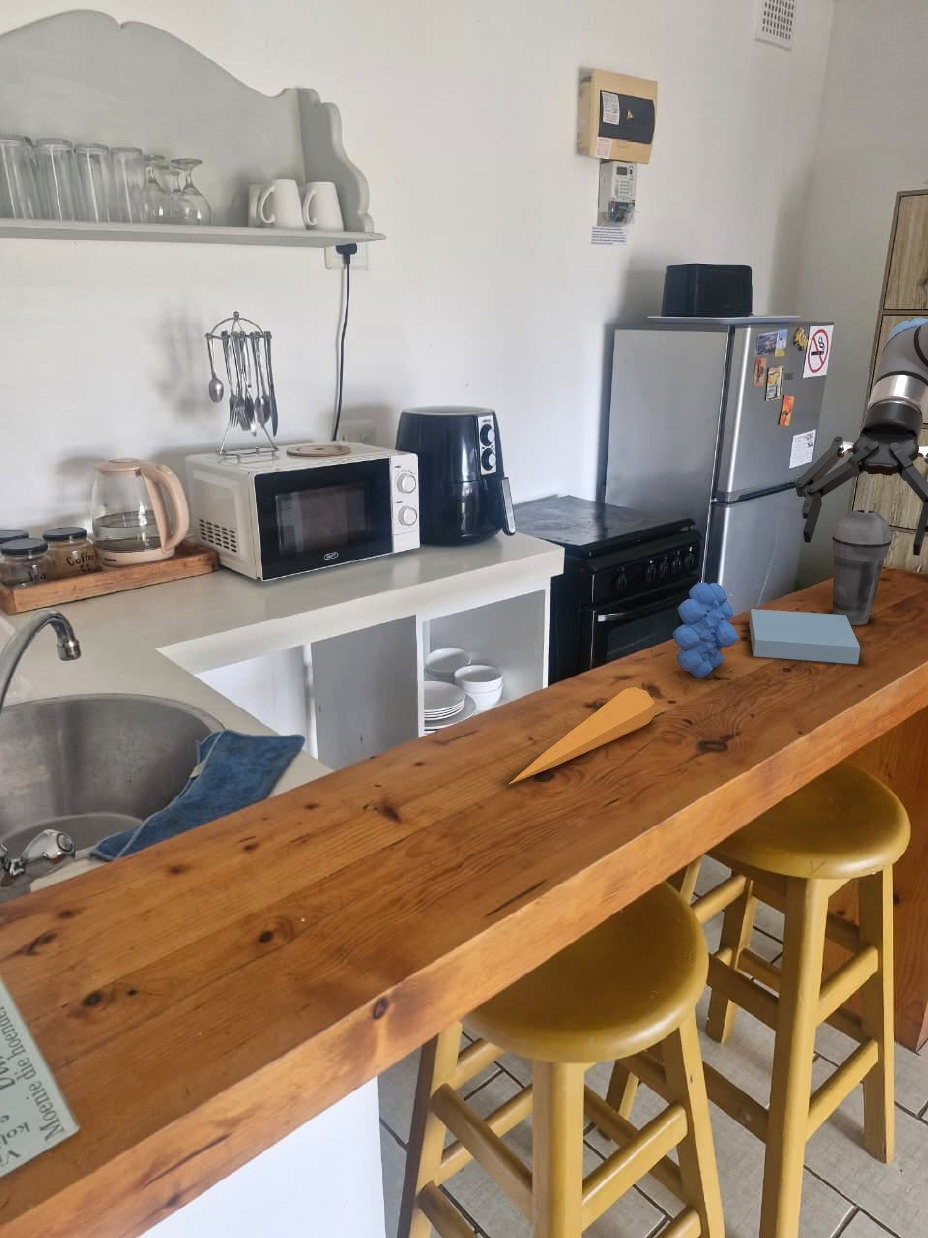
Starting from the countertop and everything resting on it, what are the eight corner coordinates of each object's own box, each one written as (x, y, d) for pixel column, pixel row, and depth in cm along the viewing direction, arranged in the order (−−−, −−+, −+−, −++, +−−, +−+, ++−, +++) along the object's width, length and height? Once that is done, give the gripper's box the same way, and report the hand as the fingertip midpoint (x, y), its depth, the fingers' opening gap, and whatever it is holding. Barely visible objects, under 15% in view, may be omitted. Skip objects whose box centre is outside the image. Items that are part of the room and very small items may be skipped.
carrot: (635, 722, 93) (622, 683, 92) (667, 721, 89) (654, 680, 89) (501, 806, 81) (484, 761, 81) (531, 808, 77) (515, 762, 77)
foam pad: (843, 632, 115) (845, 615, 115) (857, 666, 104) (860, 647, 104) (749, 626, 118) (750, 608, 118) (753, 658, 107) (755, 639, 107)
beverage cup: (874, 614, 122) (895, 472, 115) (883, 632, 115) (906, 482, 109) (819, 611, 124) (836, 471, 117) (824, 628, 117) (843, 480, 111)
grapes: (710, 703, 95) (719, 599, 91) (656, 687, 100) (662, 587, 96) (756, 671, 103) (766, 575, 99) (703, 658, 108) (711, 565, 104)
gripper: (993, 439, 119) (964, 570, 112) (804, 428, 132) (768, 546, 125) (999, 403, 113) (968, 539, 106) (800, 396, 126) (761, 517, 119)
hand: (859, 543), depth 116 cm, fingers open, 13 cm apart
